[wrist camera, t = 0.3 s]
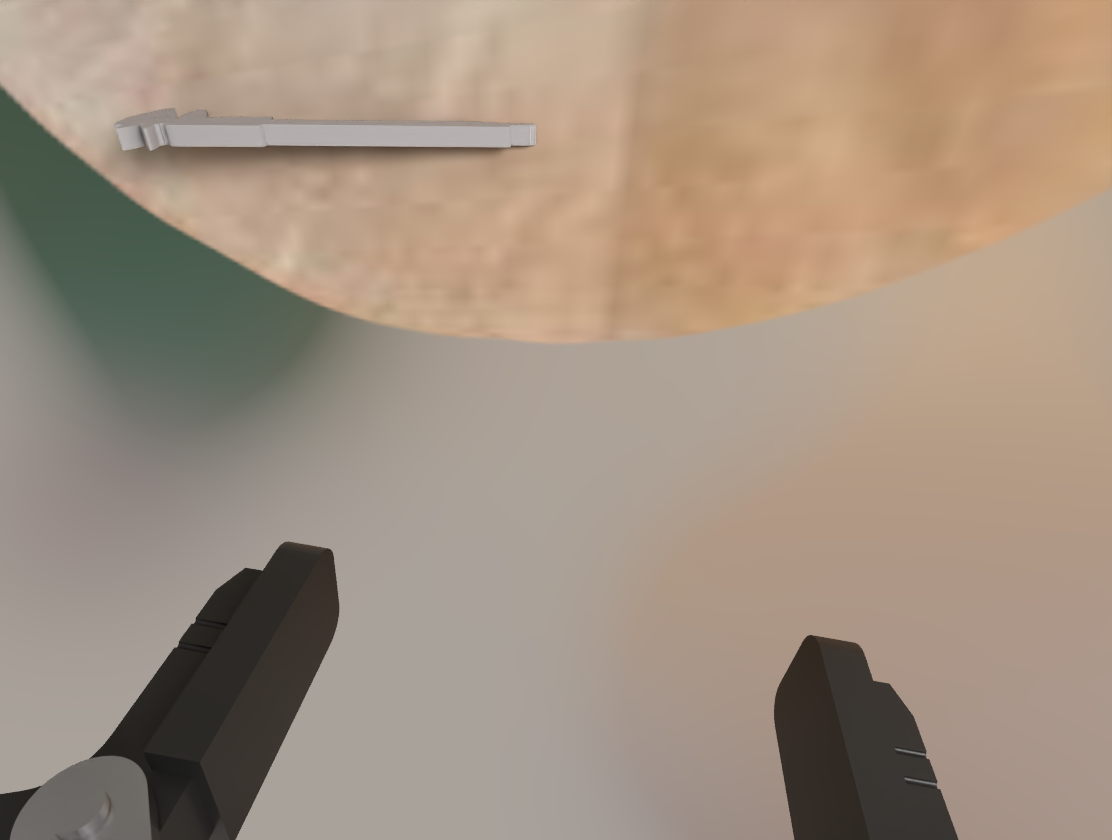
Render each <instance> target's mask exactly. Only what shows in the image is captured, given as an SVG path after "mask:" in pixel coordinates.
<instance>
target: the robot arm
mask: <svg viewBox="0 0 1112 840" xmlns="http://www.w3.org/2000/svg"><path fill="white" fill-rule="evenodd" d="M338 617H339V599H338V591H337V581H336V573H335V565H334V556H333V552H332V551H331V550H330V549H328V548H321V547H316V546H311V545H305V544H299V543H293V542H284V543H283V544H281V545H280V546H279V548H278V549H277V550H276V552H275V553H274V555H273V556H272V558H271V559H270V561H269V562H268V564H267V565H266V567H265V568H264V570H263V571H261V570H256V569H249V568H245V569H243V570H242V571H241V572H239V573H238V574H237V575H235V576H234V577H233V578H231V579H230V580H229V581H227V582H226V583H225V584H223V585H222V586H221V587H219V588H218V589H217V590H216V591H215V592H214V594H213V595H212V596H211V598H210V599H209V600H208V602H207V603H206V604H205V606H204V607H203V609H202V610H201V611H200V613H199V614H198V616H197V617H196V621H195V623H194V624H191V626H190V627H189V628H188V630H187V631H186V632H185V634H184V635H183V636H182V638H181V639H180V641H179V645H178V647H177V648H174V649H173V650H172V652H171V653H170V655H169V656H168V657H167V659H166V660H165V661H164V663H163V664H162V666H161V667H160V668H159V670H158V671H157V673H156V674H155V675H154V677H153V678H152V680H151V681H150V683H149V684H148V685H147V687H146V688H145V689H144V691H143V692H142V694H141V695H140V696H139V698H138V699H137V700H136V702H135V703H134V705H133V706H132V707H131V709H130V710H129V711H128V713H127V714H126V716H125V717H124V718H123V720H122V721H121V723H120V724H119V725H118V727H117V728H116V730H115V731H114V732H113V734H112V735H111V736H110V738H109V739H108V740H107V741H106V743H105V744H104V745H103V746H102V747H101V748H100V749H99V750H98V751H97V752H96V753H95V754H94V755H93V756H92V757H91V758H89V759H88V760H84V761H81V762H79V763H77V764H75V765H72V766H70V767H68V768H67V769H65V770H63V771H61V772H60V773H58V774H57V775H55V776H54V777H53V778H51V779H50V780H49V781H47V782H46V783H45V784H44V785H42V786H39V787H37V788H33V789H29V790H24V791H19V792H12V793H6V794H0V840H235V839H236V837H237V835H238V833H239V831H240V829H241V827H242V825H243V823H244V821H245V819H246V816H247V815H248V813H249V811H250V809H251V806H252V804H253V802H254V800H255V798H256V796H257V794H258V792H259V790H260V788H261V786H262V784H263V782H264V780H265V778H266V776H267V773H268V771H269V769H270V767H271V765H272V763H273V761H274V759H275V757H276V755H277V753H278V751H279V749H280V746H281V745H282V743H283V741H284V739H285V736H286V734H287V732H288V730H289V728H290V726H291V724H292V722H293V720H294V718H295V716H296V714H297V712H298V710H299V708H300V706H301V704H302V701H303V699H304V697H305V695H306V693H307V691H308V689H309V687H310V685H311V683H312V681H313V678H314V677H315V675H316V672H317V671H318V669H319V667H320V664H321V662H322V660H323V658H324V656H325V654H326V652H327V650H328V648H329V646H330V643H331V641H332V639H333V636H334V633H335V630H336V627H337V622H338ZM774 720H775V729H776V734H777V740H778V746H779V752H780V758H781V763H782V770H783V775H784V781H785V786H786V793H787V799H788V805H789V811H790V816H791V822H792V828H793V834H794V839H795V840H958V837H957V834H956V832H955V829H954V826H953V823H952V821H951V818H950V815H949V812H948V810H947V807H946V804H945V801H944V799H943V796H942V793H941V791H940V789H937V780H936V777H935V774H934V771H933V769H932V766H931V763H930V760H929V759H927V758H926V749H925V746H924V744H923V741H922V738H921V735H920V733H919V730H918V727H917V725H916V722H915V719H914V717H913V715H912V714H911V712H910V711H909V710H908V708H907V707H906V706H905V704H904V703H903V701H902V700H901V699H900V697H899V696H898V695H897V694H896V692H895V691H894V690H893V688H892V687H891V685H890V684H888V683H882V682H876V681H873V679H872V676H871V673H870V670H869V667H868V663H867V660H866V657H865V655H864V652H863V650H862V648H861V647H860V646H859V645H858V644H856V643H853V642H847V641H841V640H836V639H830V638H824V637H819V636H813V635H809V636H807V637H806V638H805V639H804V641H803V642H802V644H801V646H800V648H799V650H798V651H797V653H796V655H795V657H794V659H793V661H792V662H791V664H790V666H789V668H788V670H787V672H786V673H785V675H784V677H783V679H782V681H781V683H780V684H779V687H778V689H777V693H776V697H775V705H774Z"/></svg>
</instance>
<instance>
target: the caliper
mask: <svg viewBox="0 0 1112 840" xmlns="http://www.w3.org/2000/svg"><path fill="white" fill-rule="evenodd" d="M114 126H115V129H116V132H117V135H118V138H119V141H120V144H121V147H122V150H123V151H124V150H131V149H136V148H140V147H144V146H146V147H147V149H148V150H149V151H152V150H154V149H156V148H158V147H159V146H162V145H166V144H169V145H170V146H177V147H265V146H267V145H289V146H400V147H511V145H514V146H530V145H536V124H510V123H499V122H459V121H364V120H279V119H273V117H220V118H209V117H208V113H207V110H196V111H192V112H190V113H187V114H185V115H183V116H181V117H180V118H178V117H177V113H176V110H175V109H162V110H157V111H153V112H149V113H145V114H140V115H136V116H132V117H129V118H126V119H124V120H122V121H119V122H117V123H115V124H114Z"/></svg>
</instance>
